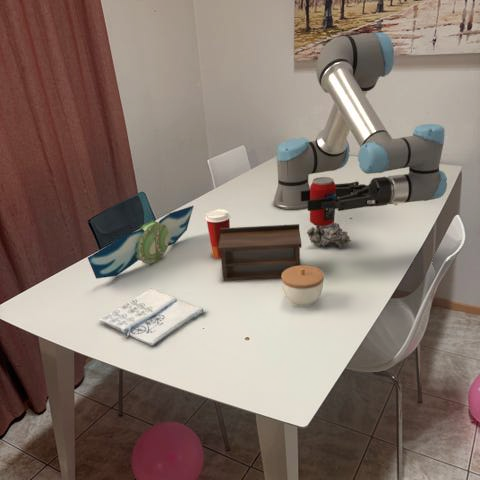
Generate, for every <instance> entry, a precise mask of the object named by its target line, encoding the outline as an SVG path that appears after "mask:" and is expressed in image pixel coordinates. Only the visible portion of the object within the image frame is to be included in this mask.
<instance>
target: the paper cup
mask: <svg viewBox="0 0 480 480" xmlns="http://www.w3.org/2000/svg"><path fill="white" fill-rule="evenodd" d="M204 219H205V221H206V224H207V225H206V226H207V230H208V236H209V242H210V247H211V251H212V257H213V258H215V259H218V260H221V254H220V252H218V246H219V241H220V236H221V228H231V225H230V223H231V222H230V219H231V215H230V212H229V211H228V210H227V209H213V210H209V211H208V212H207V213H206V215H205V217H204Z"/></svg>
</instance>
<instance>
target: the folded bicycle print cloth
mask: <svg viewBox="0 0 480 480" xmlns="http://www.w3.org/2000/svg"><path fill="white" fill-rule="evenodd" d="M203 312H204V308H203V307H200V306H196V305H193V304H190V303H188V302H186V301H183V300H181V299H177V298H176V297H175V296H172V295H170V294H166V293H165V292H164V293H163V292H160V291H159V290H154V289H153V288H149V289H148V290H146V291H144V292H143V293H141V294H139V295H138V296H136V297H135V298H133V299H132V300H131V299H130V301H128V302H126V303H125V304H123V305H121V306H119V307H117V308H116V309H115V310H113V311H112V312H111V313H108V314H107V315H106V316H104V317H102V318H100V319H99V322H100V323H102V324H103V325H106V326H108V327H110V328H113V329H115V330H117V331H119V332H121V333H123V334H126V338H127V339H128V338H129V337H132V338H133V339H136V340H138V341H140V342H142V343H144V344H146V345H149V346H151V347H152V346H155V345H156V344H157V343H158V342H160V341H162V340H163V339H164V338H166V337H168V336H169V335H171V334H172V333H174V332H175V331H177V329H179V328H181V327H182V326H183V325H184V324H187V323H188V322H189V321H190V320H192V319H195V318H197V317H198V316H199V315H201V314H203Z"/></svg>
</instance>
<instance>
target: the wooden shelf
mask: <svg viewBox="0 0 480 480" xmlns="http://www.w3.org/2000/svg"><path fill="white" fill-rule="evenodd" d="M301 248H302V238H301V230H300V224H299V223H295V224H276V225H275V224H274V225H258V226H257V225H256V226H237V227H230V228H221V236H220V241H219V246H218V252H220V254H221V259H220V263H221V271H222V280H223V282H235V281H236V282H237V281H261V280H280V279H281V280H282V278H281V275H282V273H283V272H284V271H285V270H286V269H288V268H290V267H293V266H299V265H301V253H300V252H301Z"/></svg>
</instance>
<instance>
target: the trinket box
mask: <svg viewBox="0 0 480 480" xmlns="http://www.w3.org/2000/svg"><path fill="white" fill-rule="evenodd" d="M281 278H282V279H281V286H282V291H283V294H284V296H285V298H286V299H287V300H288V301H289V302H290V303H291V304H292V305H294V306H295V307H299V308H305V307H306V308H307V307H309V306H312V305H313V304H314V303H315V302H316V301H317V300H318V299H319V298H320V296H321V294H322V292H323V289H324V280H325V279H324V278H325V274H324V272H323V270H321V269H320V268H318V267H316V266H313V265H306V264H305V265H304V264H302V265H301V264H300V265H299V266H293V267H290V268H288V269H286V270H285V271H284V272H283V273H282V275H281Z"/></svg>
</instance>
